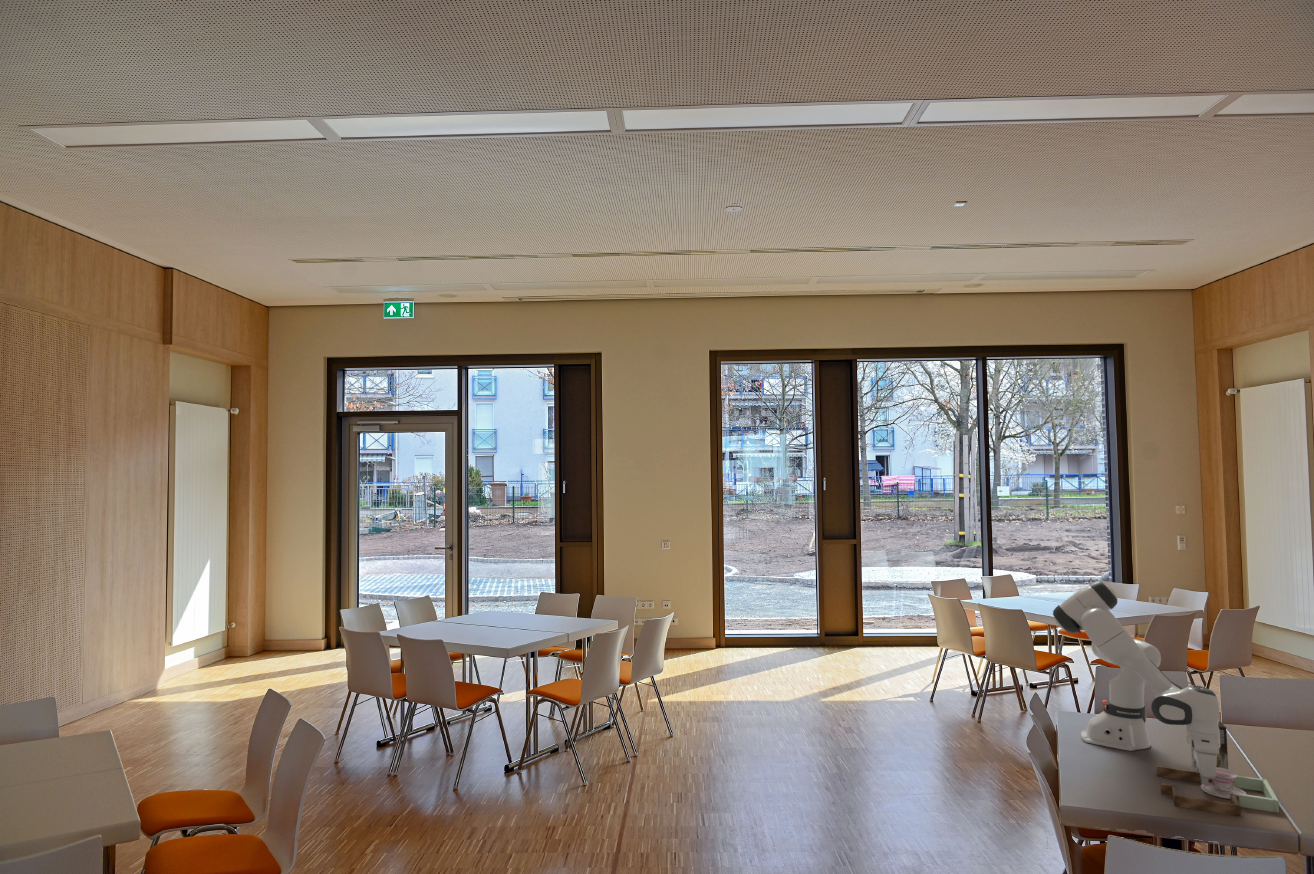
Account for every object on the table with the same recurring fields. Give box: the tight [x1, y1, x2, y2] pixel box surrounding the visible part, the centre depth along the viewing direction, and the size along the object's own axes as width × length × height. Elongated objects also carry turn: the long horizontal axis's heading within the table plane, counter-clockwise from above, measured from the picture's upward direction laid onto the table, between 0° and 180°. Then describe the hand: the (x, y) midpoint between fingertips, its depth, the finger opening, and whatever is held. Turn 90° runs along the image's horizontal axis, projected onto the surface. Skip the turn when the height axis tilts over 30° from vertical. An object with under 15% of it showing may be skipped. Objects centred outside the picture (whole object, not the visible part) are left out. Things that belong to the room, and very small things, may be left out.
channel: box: [1156, 765, 1242, 817], centre depth 249 cm, size 20×25×3 cm
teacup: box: [1200, 767, 1248, 800], centre depth 251 cm, size 12×12×6 cm
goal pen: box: [1233, 775, 1280, 814], centre depth 246 cm, size 10×17×4 cm, turn 152°
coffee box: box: [1190, 720, 1229, 771], centre depth 268 cm, size 9×6×16 cm
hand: (1204, 782), depth 252 cm, fingers closed
